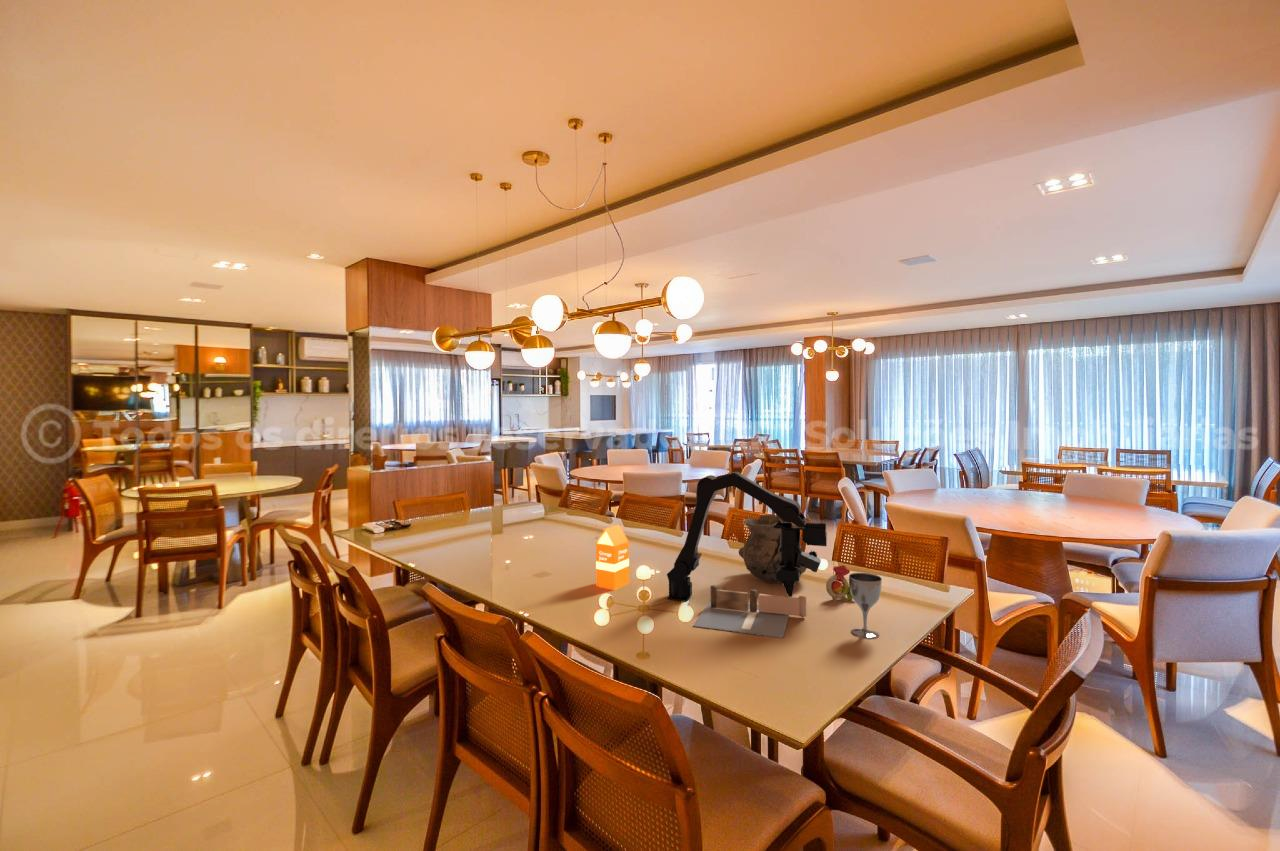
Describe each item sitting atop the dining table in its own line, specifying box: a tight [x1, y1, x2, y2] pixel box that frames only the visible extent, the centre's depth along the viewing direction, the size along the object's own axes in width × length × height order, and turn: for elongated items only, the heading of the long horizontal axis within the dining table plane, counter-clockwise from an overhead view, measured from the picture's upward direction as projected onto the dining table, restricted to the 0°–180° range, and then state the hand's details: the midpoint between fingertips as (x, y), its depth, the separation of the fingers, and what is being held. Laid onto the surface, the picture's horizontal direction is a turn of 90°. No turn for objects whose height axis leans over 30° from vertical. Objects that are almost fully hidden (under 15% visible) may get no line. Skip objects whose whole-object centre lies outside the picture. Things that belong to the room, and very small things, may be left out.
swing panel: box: [758, 593, 807, 618], centre depth 160 cm, size 13×2×5 cm, turn 70°
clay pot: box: [738, 513, 808, 584], centre depth 194 cm, size 25×24×22 cm
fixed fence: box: [710, 585, 758, 612], centre depth 165 cm, size 14×2×6 cm, turn 70°
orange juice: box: [595, 523, 630, 591], centre depth 190 cm, size 8×9×20 cm
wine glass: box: [848, 572, 882, 640], centre depth 147 cm, size 8×8×15 cm
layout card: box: [692, 599, 790, 639], centre depth 159 cm, size 24×22×1 cm
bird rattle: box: [825, 565, 854, 601], centre depth 173 cm, size 6×11×9 cm
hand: (790, 596), depth 165 cm, fingers closed
